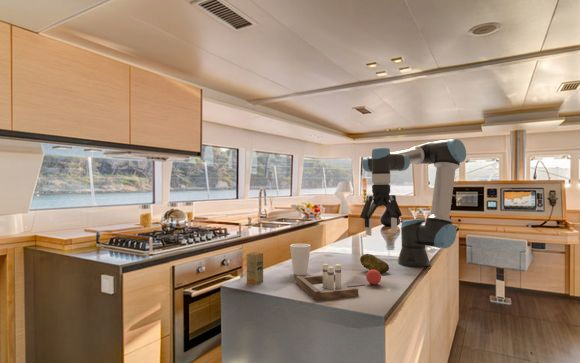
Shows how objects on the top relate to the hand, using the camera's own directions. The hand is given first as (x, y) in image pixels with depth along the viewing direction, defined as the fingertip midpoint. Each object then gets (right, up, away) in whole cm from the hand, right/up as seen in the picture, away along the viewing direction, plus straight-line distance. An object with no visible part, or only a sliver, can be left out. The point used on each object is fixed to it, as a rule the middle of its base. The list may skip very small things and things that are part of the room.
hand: (381, 234), depth 144 cm
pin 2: (-23, -20, -13) cm, 33 cm away
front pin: (-20, -20, -9) cm, 30 cm away
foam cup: (-34, -21, +14) cm, 42 cm away
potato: (+1, -20, +16) cm, 26 cm away
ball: (-5, -17, -4) cm, 18 cm away
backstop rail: (-25, -20, -11) cm, 33 cm away
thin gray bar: (-12, -20, -7) cm, 24 cm away
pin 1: (-25, -20, -8) cm, 33 cm away
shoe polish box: (-54, -20, -1) cm, 58 cm away
